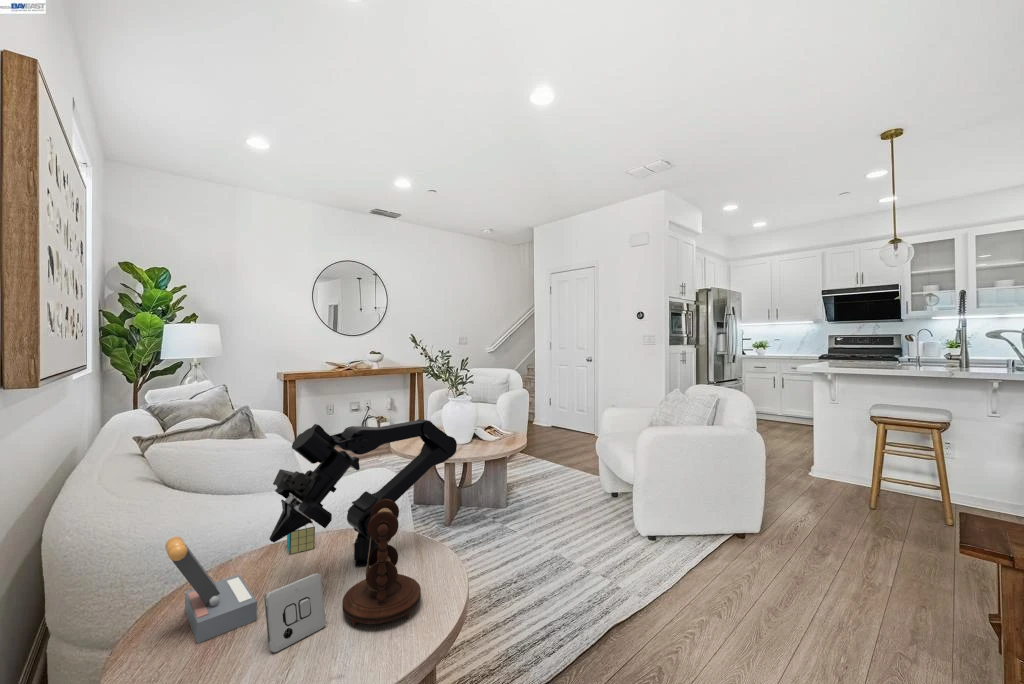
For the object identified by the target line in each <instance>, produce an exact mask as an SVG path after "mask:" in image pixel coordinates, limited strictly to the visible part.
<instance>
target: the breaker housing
mask: <svg viewBox="0 0 1024 684" xmlns="http://www.w3.org/2000/svg"><path fill="white" fill-rule="evenodd" d="M213 582H214V581H213ZM214 583H215V585H216V587H217V589H218V591H219V592H220V594H219V595H217V596H218V598H219V602H218V604H217V605H215V606H211V605H210V603H209V602H208V603H207V604H205V603H204V601H203V600H202V599H201V597H200V596H199V595H198V594H197V592H196V591H195V590H194V588H192V589H189V590H185V592H184V611H185V612H184V613H185V615H186V618H187V620H188V623H189V626H190V628H191V631H192V634H193V636H194V639H195V643H196V644H200V643H202V642H206V641H207V640H210V639H212V638H216V637H218V636H220V635H222V634H224V633H225V634H226V633H229V632H231V631H232V630H235V629H238V628H241V627H242V626H245V625H248V624H251V623H253V622H256V621H257V619H258V617H257V616H258V601H257V599H256V597H255V596H254V594H253V593H252V591H251V589H249V587H248V585H247V584H246V582H245V581H244V579H243V578H242V576H241V575H240V574H236V575H233V576H229V577H227V578H224V579H220V580H218V581H215V582H214Z"/></svg>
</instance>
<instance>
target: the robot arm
mask: <svg viewBox="0 0 1024 684" xmlns="http://www.w3.org/2000/svg"><path fill="white" fill-rule="evenodd" d="M418 437H419V438H420V440H421V441H422V443H423V445H422V447H421V450H420V452H419V453H418V455H416V456H415V457H414V458H413V459H412V460H411V461H410V462H409V463H408V464H407V465H406V466H404V467H403V468H402V469H401V470H400V471H399V472H398V473H397V474H396V475H395V476H393V477H392V478H391V479H390V480H389V481H388V482H387V483H386V484H385V485H383V486H382V487H381V488H380V489H379V490H378V491H376V492H374V493H371V492H369V491H367V490H366V491H364V492H363V493H362V494H361V495H360V496H359V497H358V498H357V499H356V500H354V501H352V502H351V504H352V505H351V506H350V507H349V508H348V510H347V514H346V521H347V524H349V525H350V526H351V527H353V530H354V531H355V532H357V537H356V538H355V541H354V545H353V550H354V551H353V552H354V553H353V560H354V561H355V564H354V566H355V567H364V566H366V567H367V561H368V554H369V546H370V554H369V566H371V565H370V555H371V553H372V552H373V550H374V549H375V548H377V547H378V545H379V544H377V543H376V542H375V540H374V539H373V538H372V537H371V536H370V535H369V533H368V523H369V521H370V519H371V510H372V507H373V506H374V505H375V504H376V503H377V502H378V501H380V500H384V499H389V500H392V501H394V502H395V503H396V502H397V501H398V500H399V499H400V498H401V497H402V496H403V495H405V494H406V492H408V490H409V489H410V488H411V487H413V485H415V484H416V483H417V482H418V481H419V480H420V479H421V478H422V477H423V476H424V475H425V474H427V472H429V470H431V469H432V468H433V467H436V466H437V465H440V464H442V463H445V462H446V461H447V460H450V459H451V458H452V457H454V455H455V454H456V452H457V446H458V443H457V440H456V438H455V437H453V436H451V435H448V434H447V433H446V432H444V431H442V430H441V429H440V428H438V427H437V426H436V425H435V424H434V423H433V422H432V421H430V420H427V419H424V418H423V419H422V418H418V419H416V420H411V421H405V422H400V423H395V424H390V425H389V424H387V425H383V426H360V425H359V426H358V425H356V426H355V425H353V426H348V427H345V428H344V429H343V431H342V432H340V433H335V434H332V435H330V434H329V433H327V431H325V430H324V428H323V427H322V426H321V425H320V424H317V423H314V424H313V425H312V426H311V427H309V428H308V429H306V430H304V431H303V432H302V433H300V434H298V435H297V436H296V437H295V439H294V440H293V442H292V444H291V449H292V450H293V451H295V452H297V453H298V454H299V455H300V456H301V457H303V459H305V460H306V461H308V462H309V463H310V464H313V465H314V464H317V463H319V464H318V465H317V466H316V468H315V469H314V470H310V469H309V470H307V471H306V472H305V473H304V472H299V471H298V470H297V471H291V470H290V471H289V470H285V469H279V470H278V472H277V475H276V476H275V478H274V480H273V483H272V485H274V486H276V489H275V490H274V492H276V493H277V494H278V495H280V496H281V497H283V498H284V499H285V500H284V499H281V501H280V503H281V506H282V509H281V510H282V511H281V514H280V516H279V518H278V521H277V522H276V524H275V526H274V529H273V530H272V532H271V535H270V536H269V541H270V542H272V543H276V542H278V541H280V540H281V539H284V538H285V537H287V535H288V534H290V533H292V532H293V531H295V530H297V529H299V528H301V527H303V526H305V525H307V524H309V523H312V522H313V523H314V522H315V523H316V524H318V525H319V526H321V527H322V528H324V529H326V528H327V527H328V526H329V524H330V523H331V522H332V520H333V516H332V515H333V514H332V513H331V512H330V511H328V510H327V509H325V508H324V504H322V502H323V501H324V499H326V498H327V496H328V495H329V493H331V492H332V493H335V492H336V490H337V487H335V486H336V485H337V484H338V482H339V481H340V480H341V479H342V478H343V476H344V475H345V474H346V473H347V471H348V470H349V469H350V468H352V469H354V470H356V471H359V470H360V468H361V467H360V458H359V457H357V456H351V455H350V454H349V453H352V454H355V455H358V456H359V455H365V454H367V453H370V452H372V451H376V450H377V449H378V448H380V447H381V446H383V445H385V444H389V443H390V444H391V443H395V442H399V441H404V440H409V439H413V438H418ZM335 447H337V448H339V449H341V451H340V450H339V451H338V450H337V449H336V448H335ZM346 451H347V452H346ZM348 452H349V453H348ZM311 520H312V521H311ZM370 537H371V545H370Z"/></svg>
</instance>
